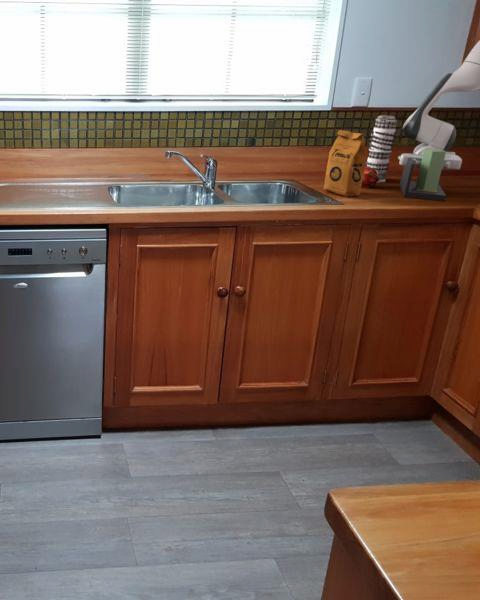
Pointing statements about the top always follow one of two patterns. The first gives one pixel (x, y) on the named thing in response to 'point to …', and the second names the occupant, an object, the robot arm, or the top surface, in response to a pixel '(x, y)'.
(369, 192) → the top surface
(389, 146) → the decorative candle
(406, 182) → the grey l-shaped bracket
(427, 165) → the carton
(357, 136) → the coffee package
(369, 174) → the dragon fruit
